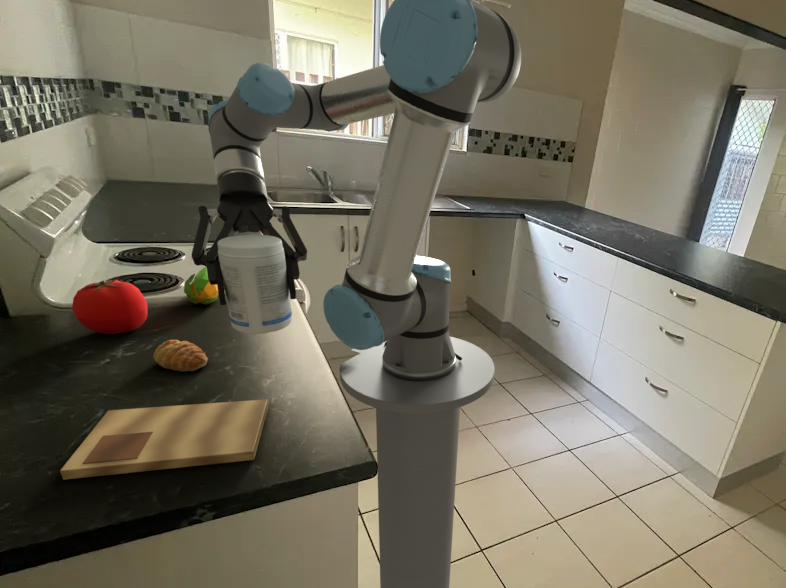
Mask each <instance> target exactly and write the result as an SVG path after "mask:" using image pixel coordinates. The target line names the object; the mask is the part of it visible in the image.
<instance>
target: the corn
mask: <svg viewBox="0 0 786 588" xmlns="http://www.w3.org/2000/svg"><path fill="white" fill-rule="evenodd" d="M223 284H224V283H223ZM183 292H184V294H185V296H186V297H187V299H188V300H189V301H190V302H191V303H193V304H194V305H198V304H203V305H205V306H206V305H209V304H211V303H214V302H216V301H217V300H219V294H218V287H217V284H216V285H211V284H210V283H209V280H208V274H207V267H206V266H204V267H202V269H200V270H199V271H198V272H197V273H193V274H191V275H190V276H189V277H188V278H187V279H186V280H185V282H184V288H183Z"/></svg>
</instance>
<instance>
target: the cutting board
mask: <svg viewBox="0 0 786 588" xmlns="http://www.w3.org/2000/svg"><path fill="white" fill-rule="evenodd" d="M269 407H270V406H269V399H264V398H263V399H251V400H238V401H223V402H208V403H196V404H195V403H193V404H182V405H165V406H154V407H152V406H150V407H138V408H137V407H136V408H123V409H109V410H107V411H106V413H105V414H104V415H103V416H102V418H100V420H99V421H98V422H97V424H96V425H95V426H94V428H93V429H91V431H90V432H89V434H88V435H87V436H86V437H85V438H84V440H83V441H82V442H81V444H80V445H79V446H78V448H77V449H76V450H75V451H74V452H73V454H72V455H71V456H70V458H69V459H68V460H67V461H66V462H65V464H64V465H63V466H62V467H61V469H60V470H59V472H60V475H61V478H62V480H63V481H65V480H74V479H76V480H77V479H84V478H92V477H93V478H94V477H103V476H112V475H114V476H115V475H121V474H123V475H124V474H132V473H143V472H151V471H160V470H171V469H179V468H189V467H198V466H200V467H201V466H208V465H219V464H227V463H236V462H245V461H247V462H248V461H255V458H256V454H257V452H258V447H259V443H260V439H261V436H262V432H263V429H264V425H265V421H266V417H267V414H268V410H269Z"/></svg>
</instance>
